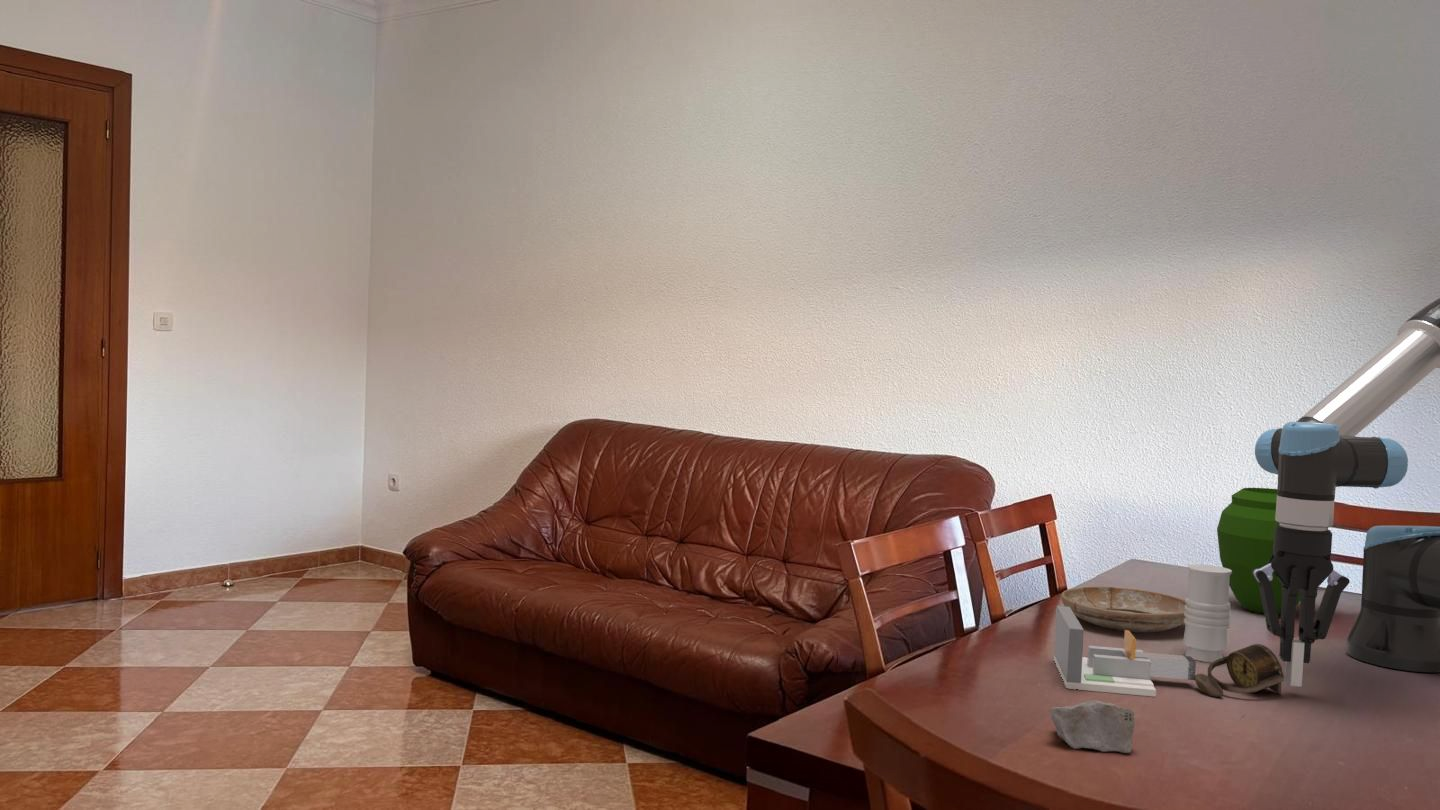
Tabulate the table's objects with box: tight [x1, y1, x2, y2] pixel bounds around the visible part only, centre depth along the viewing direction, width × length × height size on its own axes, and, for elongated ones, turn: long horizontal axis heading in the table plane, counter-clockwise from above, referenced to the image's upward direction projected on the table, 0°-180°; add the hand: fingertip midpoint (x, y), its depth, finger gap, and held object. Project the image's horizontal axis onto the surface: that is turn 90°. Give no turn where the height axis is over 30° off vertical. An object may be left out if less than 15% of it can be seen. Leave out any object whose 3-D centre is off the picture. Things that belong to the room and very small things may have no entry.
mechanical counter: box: [1194, 643, 1285, 698], centre depth 157 cm, size 7×13×10 cm
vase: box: [1216, 487, 1301, 616], centre depth 212 cm, size 20×20×24 cm
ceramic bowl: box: [1060, 586, 1187, 633], centre depth 197 cm, size 23×24×5 cm
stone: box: [1050, 699, 1136, 754], centre depth 133 cm, size 8×10×6 cm
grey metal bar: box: [1122, 630, 1197, 681], centre depth 158 cm, size 10×6×6 cm, turn 79°
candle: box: [1182, 563, 1232, 663], centre depth 175 cm, size 7×7×15 cm
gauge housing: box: [1053, 605, 1157, 698], centre depth 161 cm, size 12×15×9 cm
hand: (1292, 683), depth 156 cm, fingers closed
